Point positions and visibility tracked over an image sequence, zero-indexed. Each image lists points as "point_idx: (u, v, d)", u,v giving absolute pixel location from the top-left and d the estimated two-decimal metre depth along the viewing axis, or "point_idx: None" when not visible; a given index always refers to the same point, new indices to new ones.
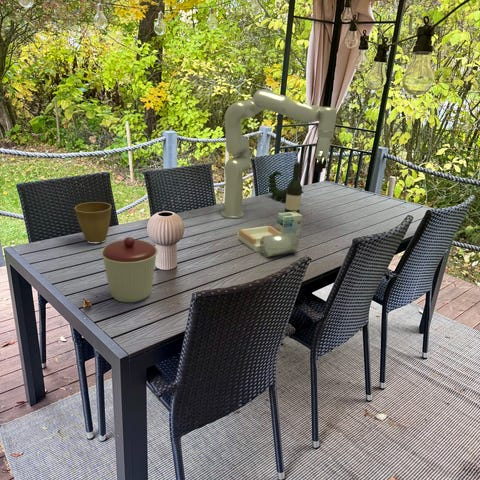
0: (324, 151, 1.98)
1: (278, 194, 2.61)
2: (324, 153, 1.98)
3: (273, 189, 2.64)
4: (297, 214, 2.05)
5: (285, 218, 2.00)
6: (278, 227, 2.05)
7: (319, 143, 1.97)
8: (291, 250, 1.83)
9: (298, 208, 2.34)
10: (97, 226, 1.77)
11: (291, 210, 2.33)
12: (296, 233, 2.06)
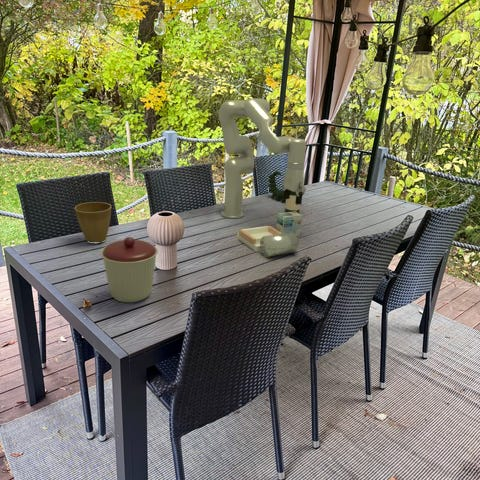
0: (302, 183, 1.95)
1: (278, 194, 2.61)
2: None
3: (273, 189, 2.64)
4: (297, 214, 2.05)
5: (285, 218, 2.00)
6: (278, 227, 2.05)
7: (298, 176, 1.92)
8: (291, 250, 1.83)
9: (298, 208, 2.34)
10: (97, 226, 1.77)
11: (291, 210, 2.33)
12: (296, 233, 2.06)
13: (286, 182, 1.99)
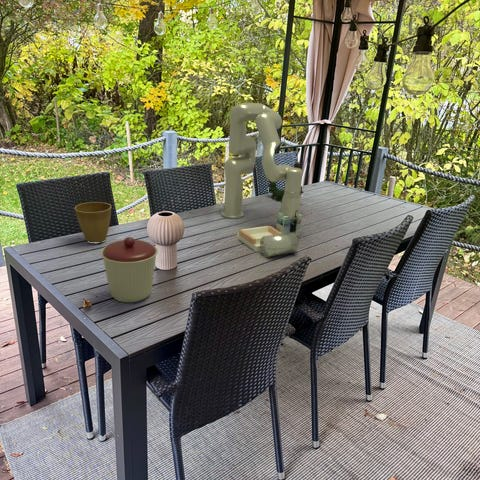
0: (298, 211, 2.00)
1: (278, 194, 2.61)
2: (298, 213, 2.00)
3: (273, 189, 2.64)
4: None
5: (285, 218, 2.00)
6: (278, 227, 2.05)
7: (294, 205, 1.98)
8: (291, 250, 1.83)
9: None
10: (97, 226, 1.77)
11: None
12: (296, 233, 2.06)
13: (283, 209, 2.04)
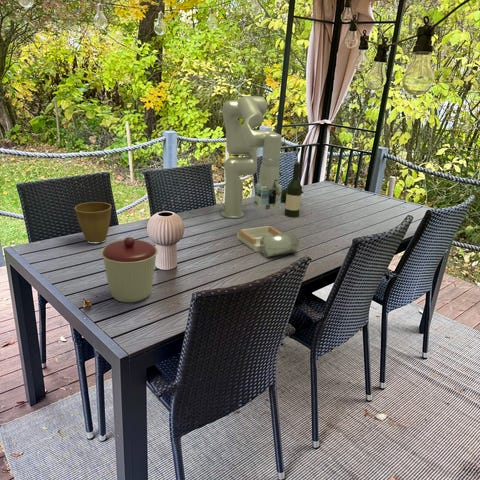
0: (278, 180, 1.83)
1: None
2: (278, 182, 1.84)
3: None
4: None
5: (263, 188, 1.83)
6: (256, 199, 1.89)
7: (273, 173, 1.81)
8: (291, 250, 1.83)
9: (298, 208, 2.34)
10: (97, 226, 1.77)
11: (291, 210, 2.33)
12: (276, 205, 1.90)
13: (261, 179, 1.87)
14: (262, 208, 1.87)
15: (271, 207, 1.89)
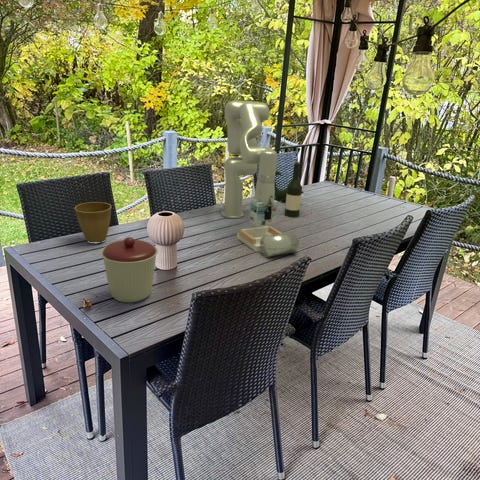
0: (273, 197, 1.85)
1: (278, 194, 2.61)
2: (273, 199, 1.85)
3: None
4: None
5: (259, 204, 1.85)
6: (252, 214, 1.90)
7: (268, 190, 1.82)
8: (291, 250, 1.83)
9: (298, 208, 2.34)
10: (97, 226, 1.77)
11: (291, 210, 2.33)
12: (271, 221, 1.91)
13: (257, 195, 1.89)
14: (258, 224, 1.88)
15: (267, 223, 1.90)
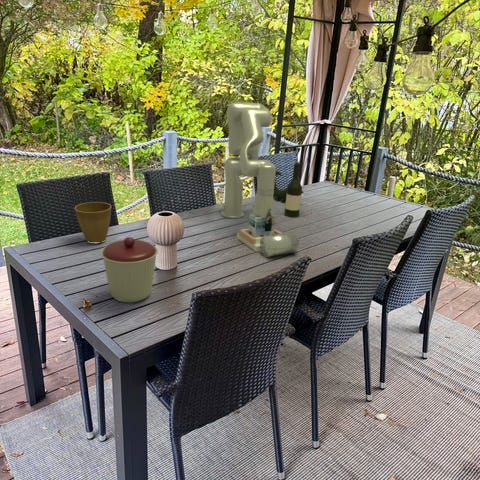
0: (272, 209, 1.87)
1: (278, 194, 2.61)
2: None
3: None
4: None
5: (257, 219, 1.88)
6: (250, 229, 1.93)
7: (267, 203, 1.85)
8: (291, 250, 1.83)
9: (298, 208, 2.34)
10: (97, 226, 1.77)
11: (291, 210, 2.33)
12: None
13: (256, 208, 1.91)
14: None
15: None
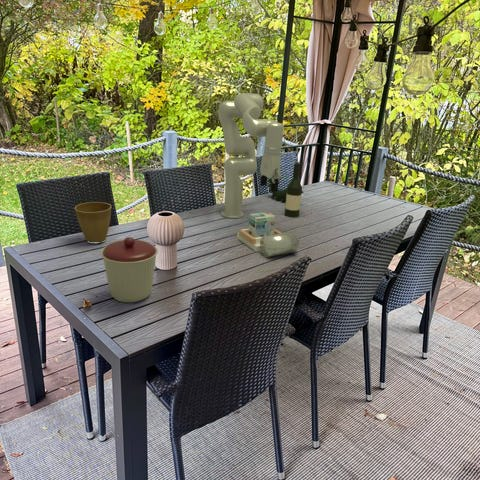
0: (279, 169, 1.86)
1: (278, 194, 2.61)
2: None
3: None
4: (270, 215, 1.93)
5: (257, 219, 1.88)
6: (250, 229, 1.93)
7: (274, 162, 1.84)
8: (291, 250, 1.83)
9: (298, 208, 2.34)
10: (97, 226, 1.77)
11: (291, 210, 2.33)
12: None
13: (262, 168, 1.90)
14: None
15: None
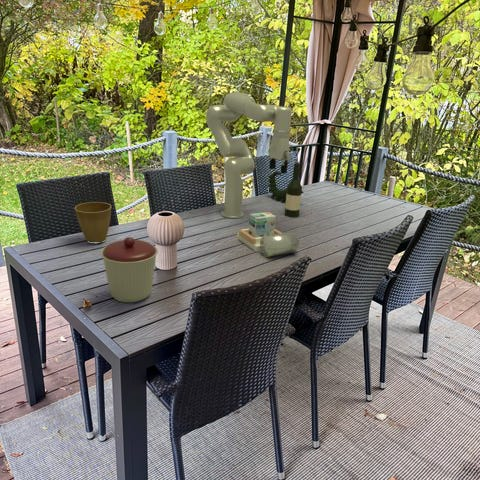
0: (288, 152, 1.95)
1: (278, 194, 2.61)
2: (288, 154, 1.95)
3: (273, 189, 2.64)
4: (270, 215, 1.93)
5: (257, 219, 1.88)
6: (250, 229, 1.93)
7: (283, 144, 1.92)
8: (291, 250, 1.83)
9: (298, 208, 2.34)
10: (97, 226, 1.77)
11: (291, 210, 2.33)
12: None
13: (272, 151, 1.99)
14: None
15: None
